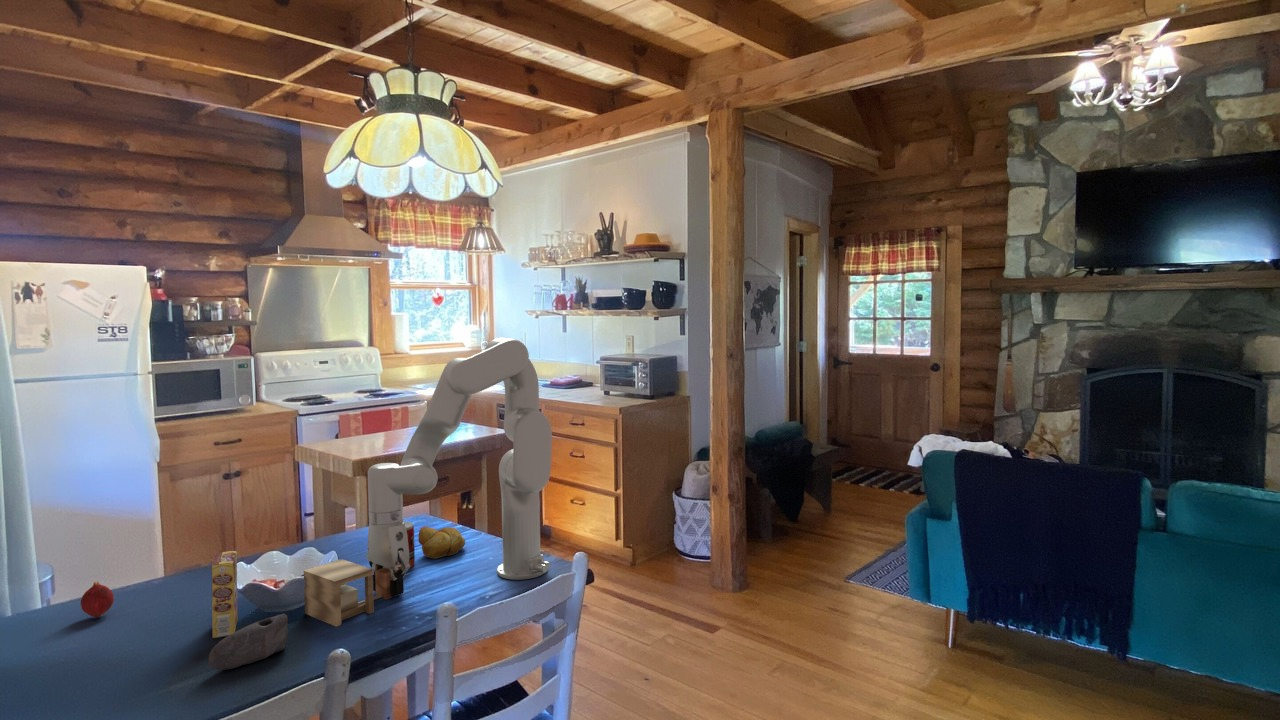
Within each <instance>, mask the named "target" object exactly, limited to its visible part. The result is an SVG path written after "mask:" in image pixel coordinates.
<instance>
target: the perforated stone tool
mask: <svg viewBox="0 0 1280 720" xmlns="http://www.w3.org/2000/svg"><path fill="white" fill-rule="evenodd" d="M288 620H289V616H288V615H287V614H286V613H281V614H277V615H275V616H271V617H267V618H265V619H262V620H258V621H256V622H254V623H251V624H248V625H247V626H245V627H242V628H240V629H238V630H235V632H234V633H233V634H231V635H229V636H225V637H223V639H221V640H220V641H218V643H216V644H215V645H214V646H213V648H212V649H211V651H210V652H209V655H208V660H207V661H208V665H209V666H210V667H211V668H212V669H213V670H217V671H225V670H232V669H235V668H238V667H240V666H241V667H242V665H243V666H244V665H249V664H252V663H255V662H259V661H261V660H265V659H267V658H269V657H270V656H272V655H273V654H275V653H278V652H281V651H283V650H286V645H287V639H288V627H289V625H288V623H289V621H288Z"/></svg>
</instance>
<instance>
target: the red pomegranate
mask: <svg viewBox="0 0 1280 720" xmlns="http://www.w3.org/2000/svg"><path fill="white" fill-rule="evenodd" d="M114 601H115V595H114V593H113V591H112V589H111V588H110V587H108V586H106V585H103V584H101V583H100V582H99V581H97V580H95V581H94V582H93V585H92V586H91V587H90V588H89V589H87V590H86V591H85V592H84V593H83V595H82V597H81V599H80V607H81V610H82V611H83V612H84V614H87V615H89V616H90V617H94V618H96V617H98V618H100V617H102V616H103V615H104V614H106V613H107V612H108V611H109V610H110V608H112V606H113V604H114ZM101 615H102V616H101ZM99 616H100V617H99Z"/></svg>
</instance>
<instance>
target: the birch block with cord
mask: <svg viewBox="0 0 1280 720" xmlns="http://www.w3.org/2000/svg"><path fill="white" fill-rule="evenodd" d="M397 571H398V568H395V572H397ZM390 580H392V577H391V573H390V569H389V568H388V567H385V568H382V569H379V570H376V571H375V582H376V591H375V595H373V600H374V601H375V600H378V599H383V600H388V599H392V598H393V597H391V595H390ZM358 591H359V590H358V588H356V587H353V586H351V585H348V584H344V585H341V586H340V598H341V612H343V611H345V610H348V609H351V608H353V607H356V606H359V605H361V604H364V603H365V599H363V600H361V601H359V592H358Z"/></svg>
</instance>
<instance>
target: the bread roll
mask: <svg viewBox="0 0 1280 720" xmlns="http://www.w3.org/2000/svg"><path fill="white" fill-rule="evenodd" d="M461 533H462V532H460V530H458V529H457V528H455V527H447V526H446V527H443V528H439V529H436V528H433V527H429V526H422V527H420V529H419V530H418V536H417V537H418V543H419V544H420V545H421V551H422V554H423V555H424V556H425V557H426V558H428V559H439V558H442V557H447V556H452V555H453V556H454V555H455V554H457V553H458V552H459V551H461V550H462V549H464V547H465V545H466V539H465V537H463V536H462V534H461Z"/></svg>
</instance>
